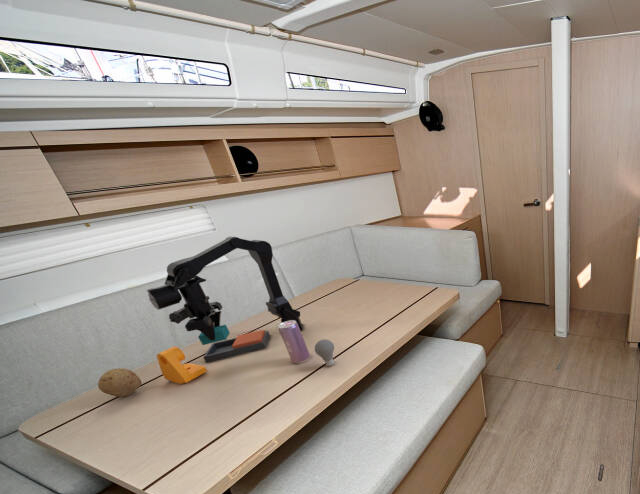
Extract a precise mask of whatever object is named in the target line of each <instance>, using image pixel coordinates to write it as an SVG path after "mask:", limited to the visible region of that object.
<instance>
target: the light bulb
mask: <svg viewBox="0 0 640 494" xmlns="http://www.w3.org/2000/svg"><path fill="white" fill-rule="evenodd" d="M334 350H335V345H334V343H333V342H332V340H330V339H320V340H319V341H317V342H316V343H315V345H314V352H315V354H316V355H317V356H318V357H319V358H321V359H322V360H323V361H324V363H325V366H326V367H330V366H332V365H334V364H335V361H334V355H333V354H334Z"/></svg>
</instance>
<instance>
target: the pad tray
mask: <svg viewBox="0 0 640 494" xmlns="http://www.w3.org/2000/svg"><path fill="white" fill-rule="evenodd" d="M270 337H271V334H270V332H269V330H265V334H264V337H263V339H262V342H260V343H256V344H252V345H248V346H244V347H239V348H235V349H233V347H232V345H233V343H234V342H235V340H236V338H237V337H234V338H230V339H226V340H222V341H218V342H214V343H211V345H210V346H209V348H208V349H207V351H206V352H205V354H204V355H203V359H204V361H205V363H206V364H207V363H211V362H214V361H218V360H224V359H228V358H231V357H235V356H240V355H242V354H243V355H244V354H247V353H251V352H255V351H260V350H264V349H267V346H268V343H269V340H270Z"/></svg>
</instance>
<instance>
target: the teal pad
mask: <svg viewBox="0 0 640 494" xmlns="http://www.w3.org/2000/svg"><path fill="white" fill-rule="evenodd" d="M214 328H215V340H212V341H211V340H210V339H209V338H208V337H207V336H205V335H204V334H203V333H202V332H201V331H200V333H199V335H198V337H197V338H198V339H199V342H200V343H201V345H202V346H206V345H209V344H212V343H216V342H220V341H225V340H228V337H229V335H230V333H231V332H230V330H229V327H228V326H227V324H222V325H220V326H218V327H214Z"/></svg>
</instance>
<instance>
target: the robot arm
mask: <svg viewBox="0 0 640 494" xmlns="http://www.w3.org/2000/svg"><path fill="white" fill-rule="evenodd" d="M237 249H238V250H239V249H240V250H243V251H247V252H248V253H249V255H250V257H251V258H252V260H254V261H255V263H256V264H257V266H258V269H259V272H260V274H261V277H262V280H263V283H264V285H265V288H266V291H267V293H268V297H269V299H268V301H266V302H265V305H266V307H267V312H268V313H269V312H270V314H271V315H273V316H276V317H277V318H279V319H280V324H281V323H283V322H285V321H289V320H295V321H296V322H297V323H298V326H299V328H300V331H301V332H302V331H303V329H304V327H303V326H304V323H302V321H301V311H299V310H297V309H294V308H293V307H292V305H291V304H290V302H289V300H288V299H287V298H286V297H285V296H284V294H283V291H282V288H281V284H280V283H279V279H278V276H277V274H276V270H275V267H274V265H273V257H274V254H273V248H272V245H271V243H269V242H268V241H266V240H259V239H251V240H250V239H245V238H239V237H237V236H228V237H226V238H225V239H223V240H221V241H219V242H217V243H216V244H214V245H212V246H210V247H208V248H206V249H205V250H203V251H201V252H199V253H197V254H195V255H193V256H189V257H186V258H182V259H179V260H175V261H172V262H170V263H168V265H167V266H166V273H167V276H166V278H165V281H164V285H161V286H158V287H152V288H149V289H146V292H147V293H148V300H149V301H150V303H151V304H152V306H153V307H154V308H155V309H156V310H158V311H159V310H162V309H165V308H168V307H171V306H174V305H177V304H180V303H181V301H182V299H183V300H184V302H185V303H184V304H183V307H181V308H179V309H177V310H174V311H173V312H171V313H169V314H168V319H169V322H171V323H175V324H180V323H182V322H183V321H185V320H187V319H188V318H189V320H188V321H187V322H186V323H185V325H184V328H185V330H186V331H187V332H193V331H199V332H200V333H201V332H202V333H203V334H204V335H205V336H207V337H208V338H209V339H210V340H211V341H212V340H215V328H214V327H218V326H221V317H222V311H221V310H222V309H223V308H224V307H223V305H222V303H221V302H219V301H213V302H210V301H209V300H210V296H209V295H206V293H205V291H204V289H203V287H202V285H201V283H205V282H206V281H207V279H206V278H202V277H200V276H199V275H198V274H200V273H201V272H202V270H203V269H204V268H206V267H207V266H208V265H210V264H211V263H213V262H215V261H217V260H219V259H220V258H223V257H224V256H225V255H228V254H229V253H231V252H233V251H234V250H237Z"/></svg>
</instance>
